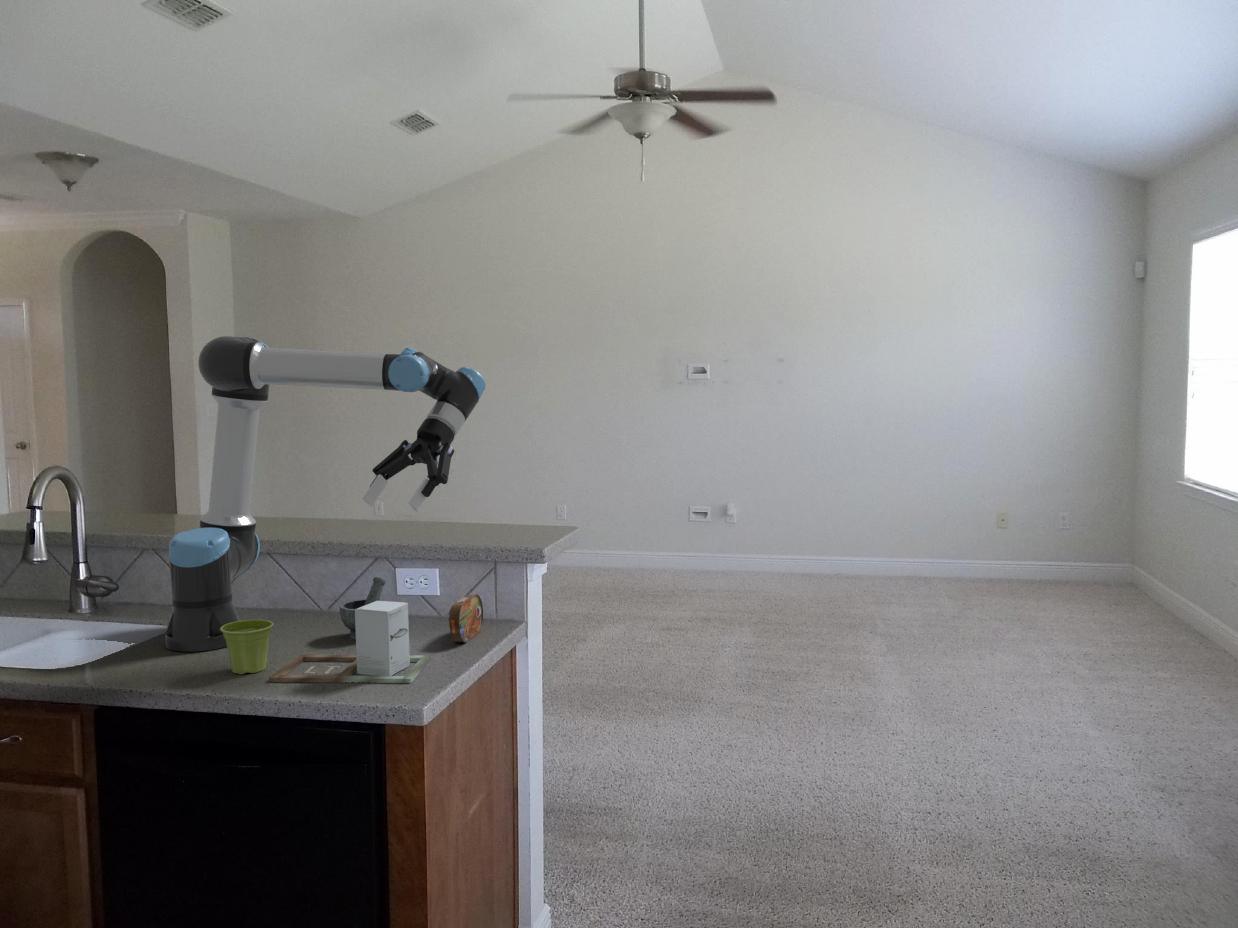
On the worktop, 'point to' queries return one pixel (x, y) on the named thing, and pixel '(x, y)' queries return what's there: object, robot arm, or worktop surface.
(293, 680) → the metal double frame
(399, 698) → the worktop surface
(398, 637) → the supplement box
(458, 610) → the tin
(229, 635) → the plant pot
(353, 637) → the mortar and pestle
